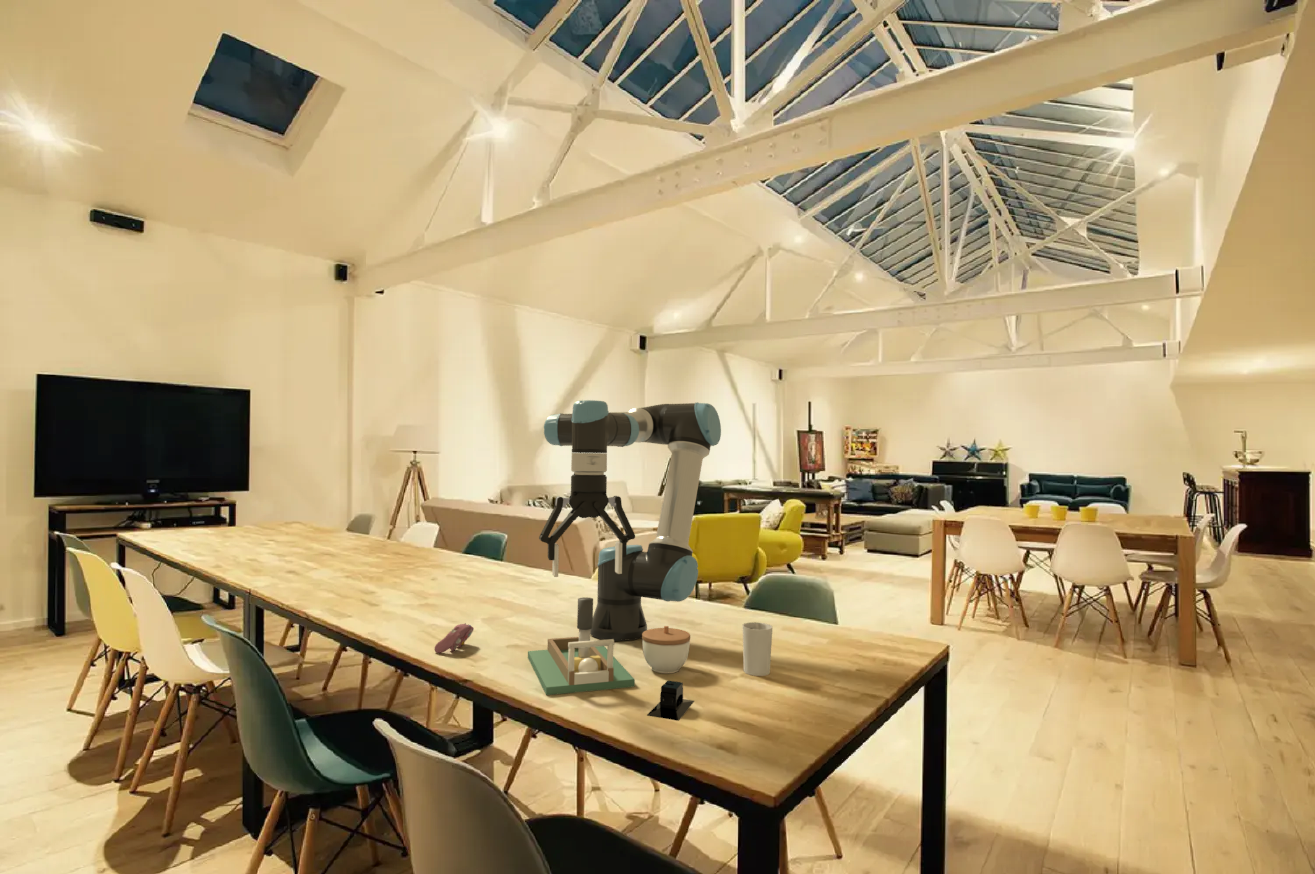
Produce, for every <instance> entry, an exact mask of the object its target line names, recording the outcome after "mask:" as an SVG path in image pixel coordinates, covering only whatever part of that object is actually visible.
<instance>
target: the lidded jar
mask: <svg viewBox="0 0 1315 874" xmlns="http://www.w3.org/2000/svg"><path fill="white" fill-rule="evenodd" d="M641 639H642V643H641V644H642V653H643V658H644V660H645V662H646V663H647V665H648V666H649V667H651V670H652V671H654V672H655V673H659V674H674V673H677V672H679V671H680V669H681V668H682V667H683V666H684V664H685V663H686V662H687V660H688V657H689V653H690V642H691V634H690V632H688V631H686V630H683V629H679V628H673V627H669V625H664V626H663V627H656V628H654V627H653V628H650V629H647V630H646V631H644V632H643V633H642V638H641Z"/></svg>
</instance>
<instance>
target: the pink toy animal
mask: <svg viewBox="0 0 1315 874" xmlns="http://www.w3.org/2000/svg"><path fill="white" fill-rule="evenodd" d="M473 632H474V627H473V626H472V625H471V624H467V623H466V622H465V623H460V624H457V625H455V626H454V628H453V629H451V631H449V632H448V633H447V634H446V636H445V637H444V638H442V639H441V640H439V641H438V642H437V643H436V644H435V646H434V652H435V653H436V654H442V653H445V652H446V651H448V650H451V652H454V651H455V650H456V649H457V648H461V647H463V646H464V645H465V642H466V641H467V640H468V639H469V638H470V637H471V635H472V634H473Z"/></svg>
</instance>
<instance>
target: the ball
mask: <svg viewBox="0 0 1315 874" xmlns="http://www.w3.org/2000/svg"><path fill="white" fill-rule="evenodd" d="M578 670H579V672H590V671H598V664H597V662H596V661H595V660H594V659H592V658H585V659H583V660H582V661H581V662H580V664H579V667H578Z"/></svg>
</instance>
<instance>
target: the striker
mask: <svg viewBox="0 0 1315 874" xmlns="http://www.w3.org/2000/svg"><path fill="white" fill-rule="evenodd" d="M593 615H594V598H592V597H588V596H587V597H583V596H582V597H578V598H577V615H576V616H577V618H576V619H577V620H576V621H577V622H576V624H577V625H576V627H577V629H578V637H579V642H580V641H591V634H590V630H591V629H592V627H593ZM585 658H592V659H594V660H595V661H596V662H597V664H598V671H600V664H601V657H600V656H599V655H597V656H590V647H584V648H579V649H578V657H574V672H575V673H579V670H578V667H579V664H580V662H581V661H582V660H583V659H585Z"/></svg>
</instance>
